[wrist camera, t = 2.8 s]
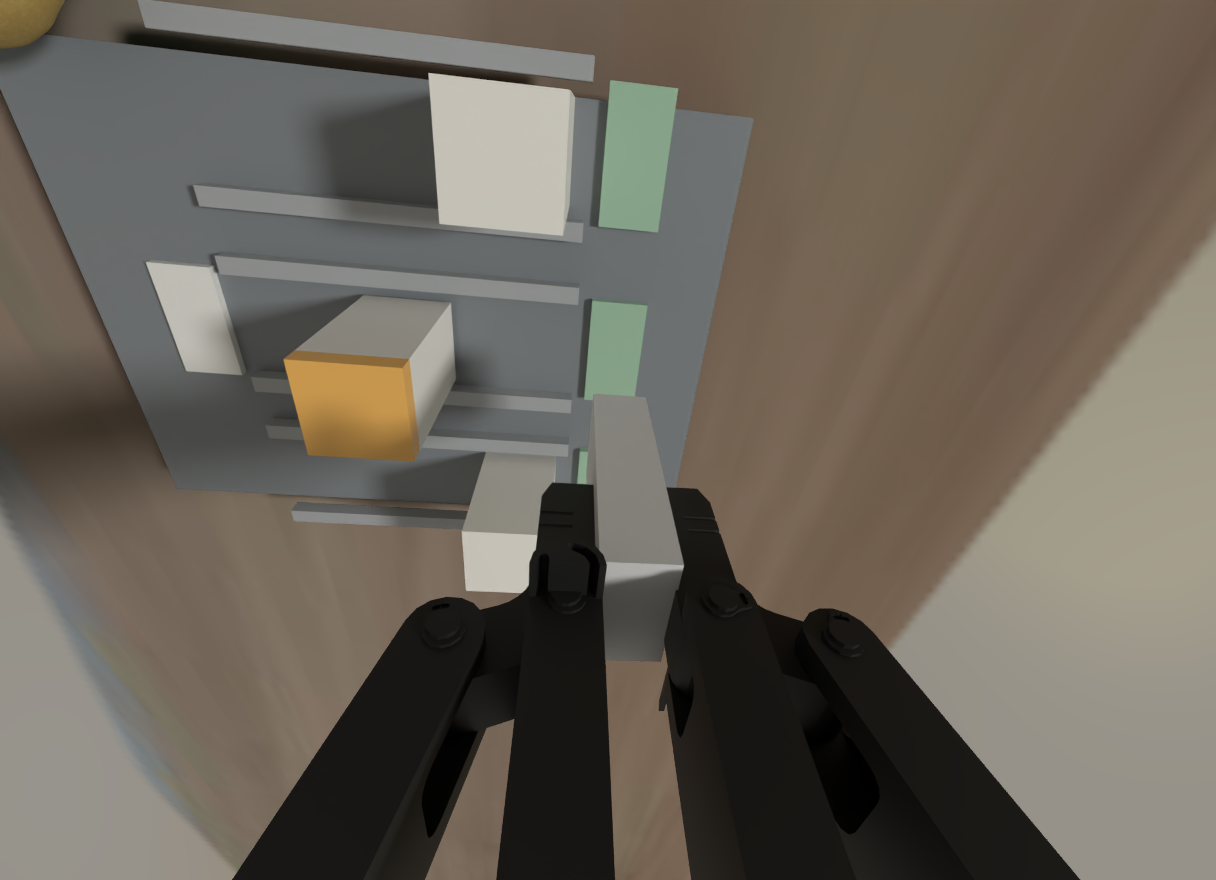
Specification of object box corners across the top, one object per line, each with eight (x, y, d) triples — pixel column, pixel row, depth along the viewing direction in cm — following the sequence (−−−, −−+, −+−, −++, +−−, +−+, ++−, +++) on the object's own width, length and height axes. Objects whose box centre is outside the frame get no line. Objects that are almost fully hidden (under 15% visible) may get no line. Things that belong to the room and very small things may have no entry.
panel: (21, -7, 15) (-342, -87, 9) (744, 82, 17) (829, 64, 11) (212, 479, 25) (93, 594, 19) (661, 504, 26) (682, 616, 21)
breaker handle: (363, 295, 18) (283, 359, 13) (451, 302, 18) (402, 368, 13) (376, 372, 20) (308, 455, 15) (456, 378, 20) (414, 461, 15)
